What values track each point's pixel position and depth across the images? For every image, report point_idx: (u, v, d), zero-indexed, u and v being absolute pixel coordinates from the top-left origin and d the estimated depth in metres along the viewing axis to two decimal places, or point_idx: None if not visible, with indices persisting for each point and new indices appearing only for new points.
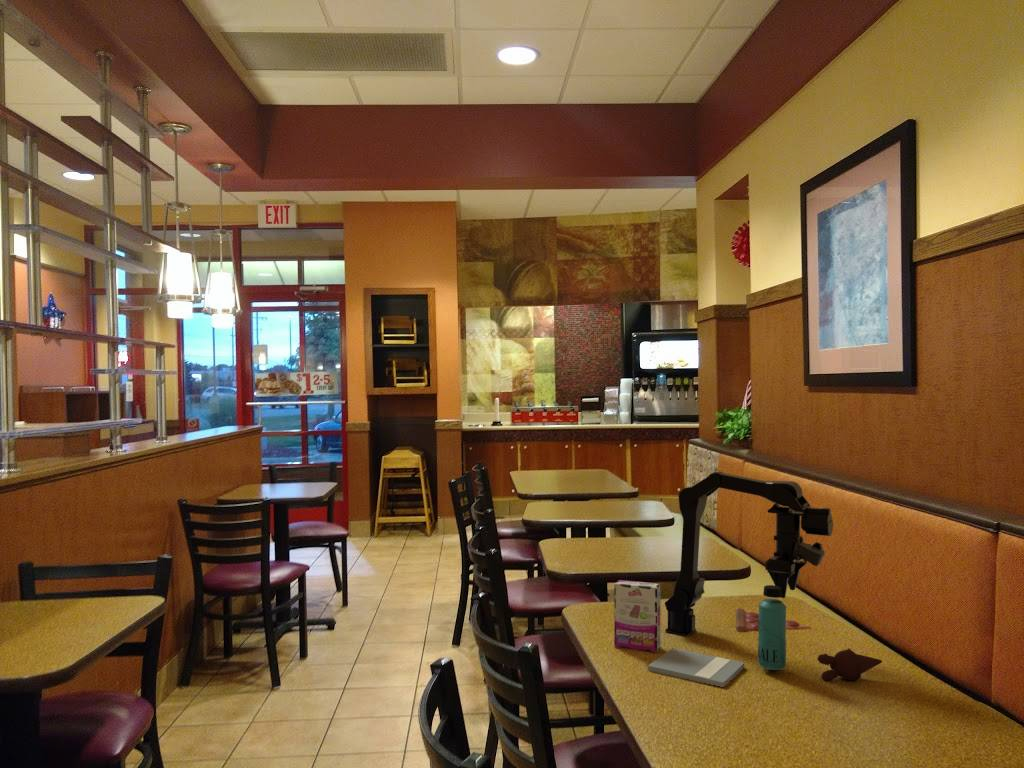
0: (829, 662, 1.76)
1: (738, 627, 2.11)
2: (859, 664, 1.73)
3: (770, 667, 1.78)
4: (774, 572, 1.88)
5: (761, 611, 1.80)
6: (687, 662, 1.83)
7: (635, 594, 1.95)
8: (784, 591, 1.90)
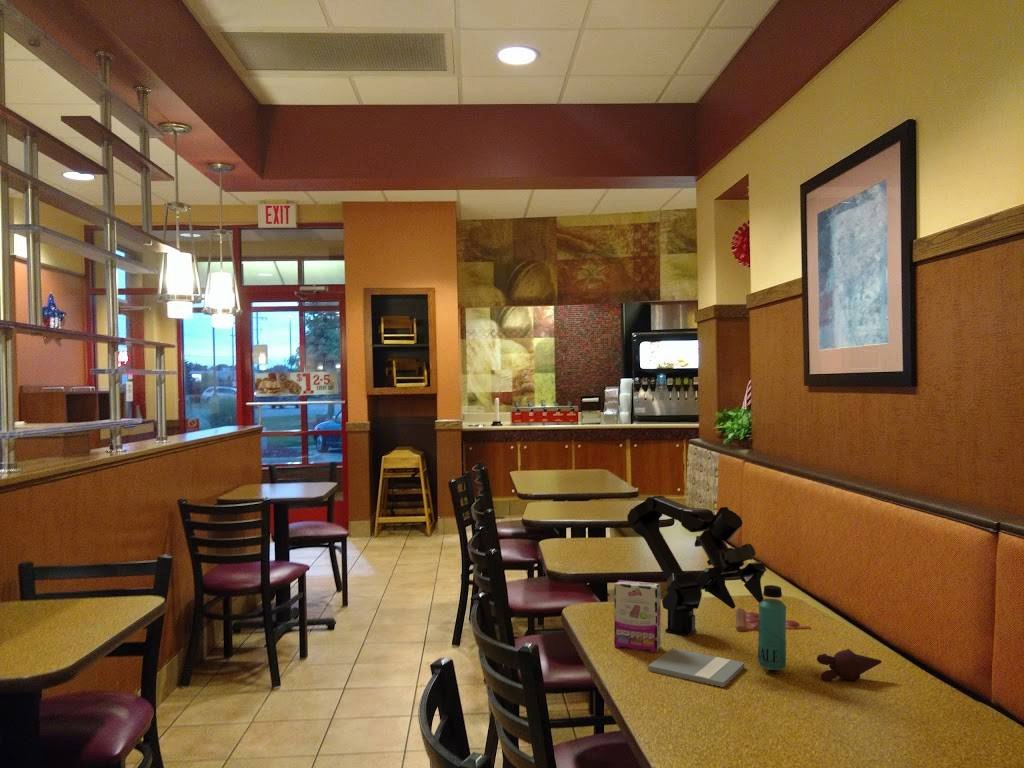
0: (828, 662, 1.76)
1: (738, 627, 2.11)
2: (858, 664, 1.73)
3: (770, 667, 1.78)
4: (707, 587, 1.89)
5: (761, 611, 1.80)
6: (687, 662, 1.83)
7: (635, 594, 1.95)
8: (729, 600, 1.86)
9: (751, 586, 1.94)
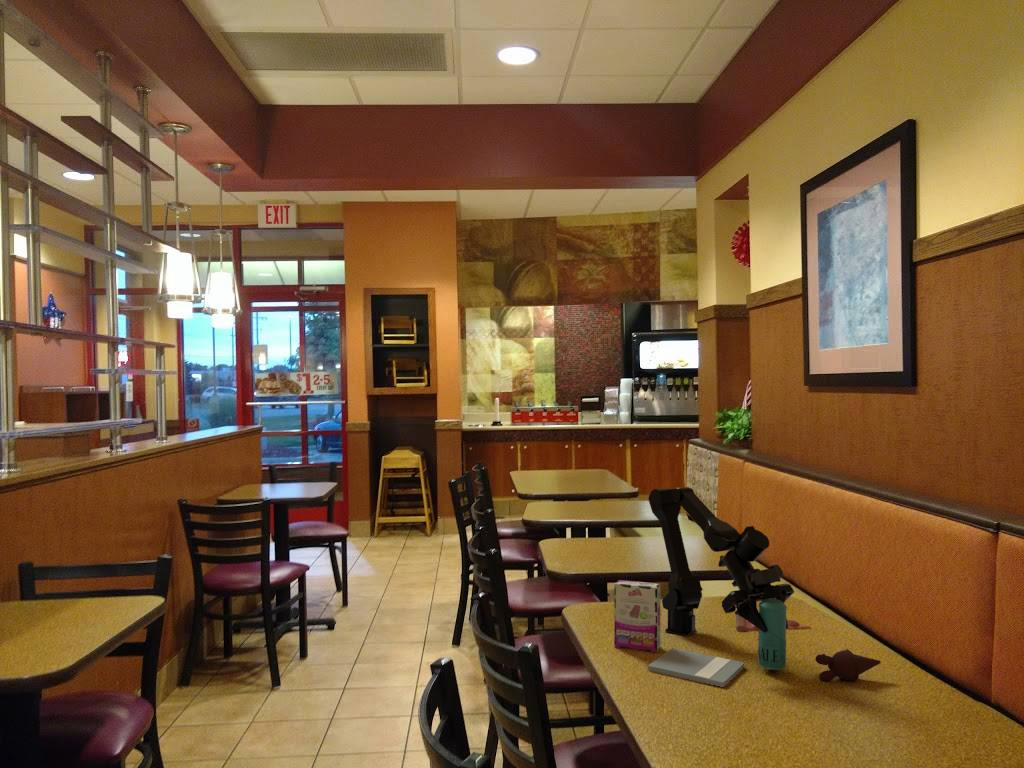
0: (827, 662, 1.75)
1: (738, 627, 2.11)
2: (857, 664, 1.73)
3: (770, 667, 1.78)
4: (738, 610, 1.81)
5: (761, 611, 1.80)
6: (687, 662, 1.83)
7: (635, 594, 1.95)
8: (761, 623, 1.78)
9: None
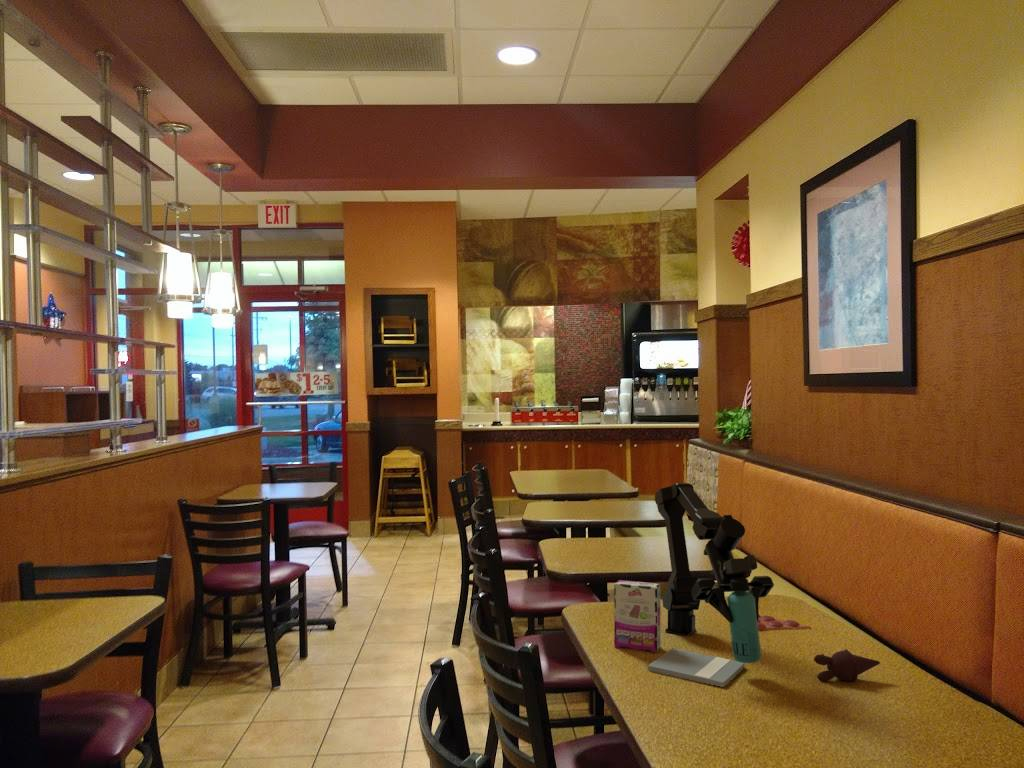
0: (825, 662, 1.75)
1: None
2: (855, 665, 1.73)
3: (741, 660, 1.75)
4: (706, 598, 1.80)
5: (728, 604, 1.77)
6: (687, 662, 1.83)
7: (635, 594, 1.95)
8: (726, 613, 1.76)
9: None
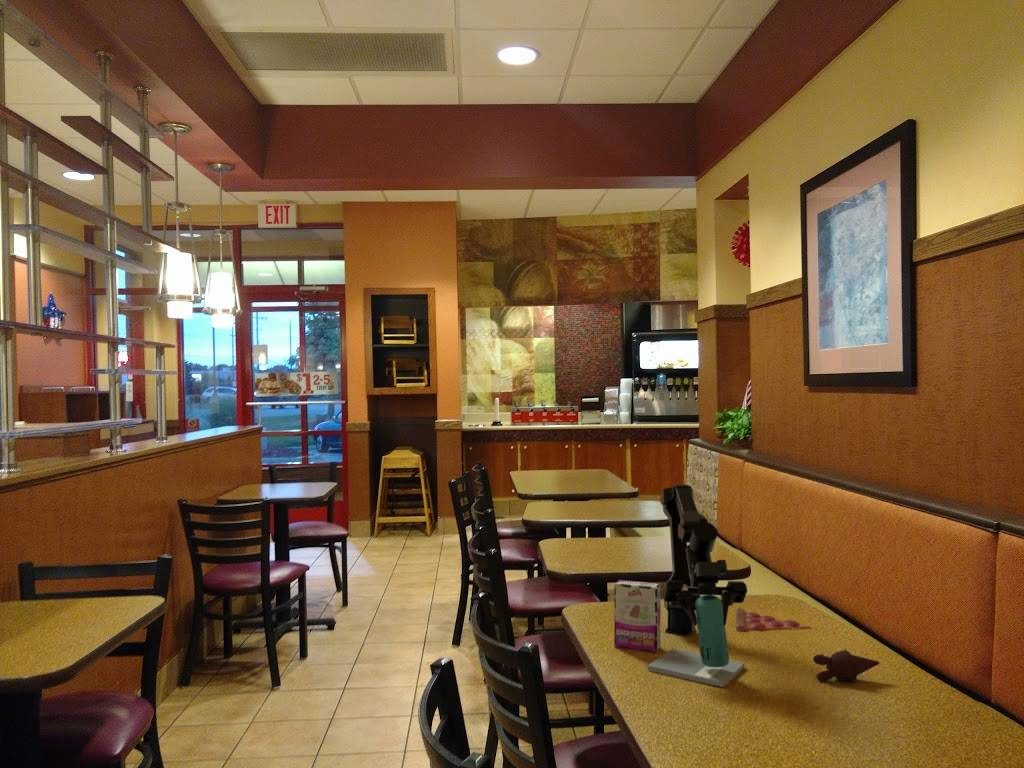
0: (825, 663, 1.75)
1: (738, 627, 2.11)
2: (855, 665, 1.73)
3: (706, 664, 1.75)
4: (676, 600, 1.81)
5: None
6: (687, 662, 1.83)
7: (635, 594, 1.95)
8: (692, 616, 1.77)
9: None
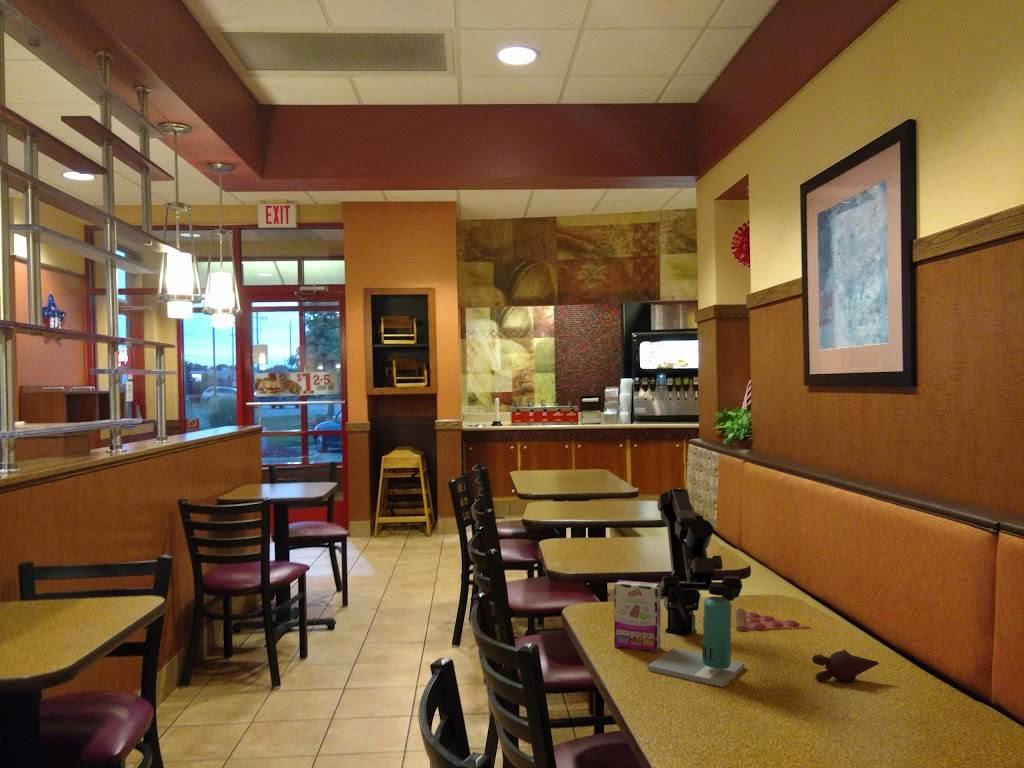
0: (823, 663, 1.75)
1: (738, 627, 2.11)
2: (854, 665, 1.73)
3: (707, 665, 1.75)
4: (667, 595, 1.86)
5: (704, 607, 1.78)
6: (687, 662, 1.83)
7: (635, 594, 1.95)
8: (682, 610, 1.81)
9: None
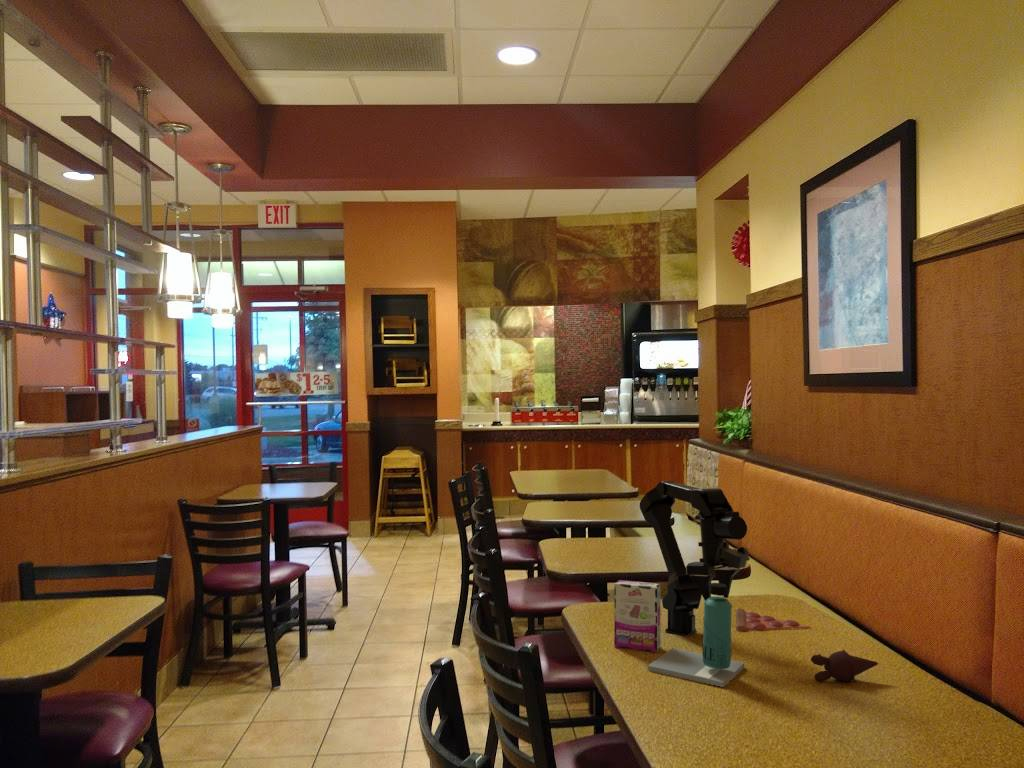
0: (822, 663, 1.75)
1: (738, 627, 2.11)
2: (852, 665, 1.73)
3: (707, 664, 1.75)
4: (695, 576, 1.92)
5: (704, 607, 1.78)
6: (687, 662, 1.83)
7: (635, 594, 1.95)
8: (708, 595, 1.92)
9: (722, 576, 2.01)
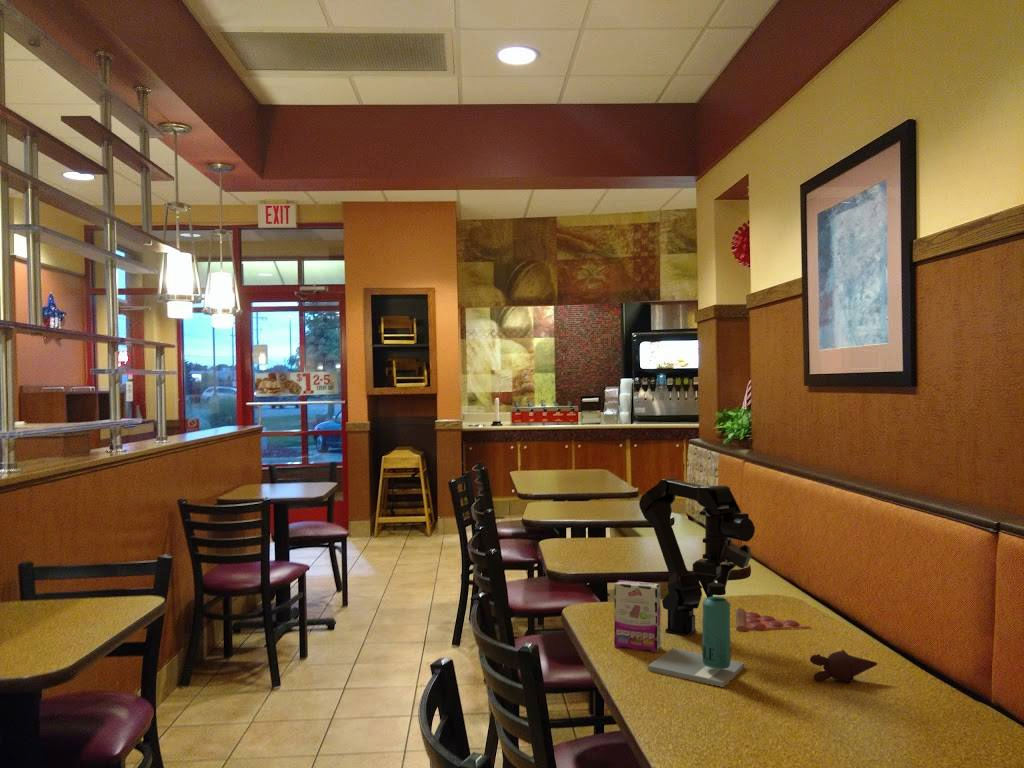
0: (821, 663, 1.75)
1: (738, 627, 2.11)
2: (851, 666, 1.72)
3: (707, 665, 1.75)
4: (701, 574, 1.93)
5: None
6: (687, 662, 1.83)
7: (635, 594, 1.95)
8: None
9: (720, 570, 2.03)
